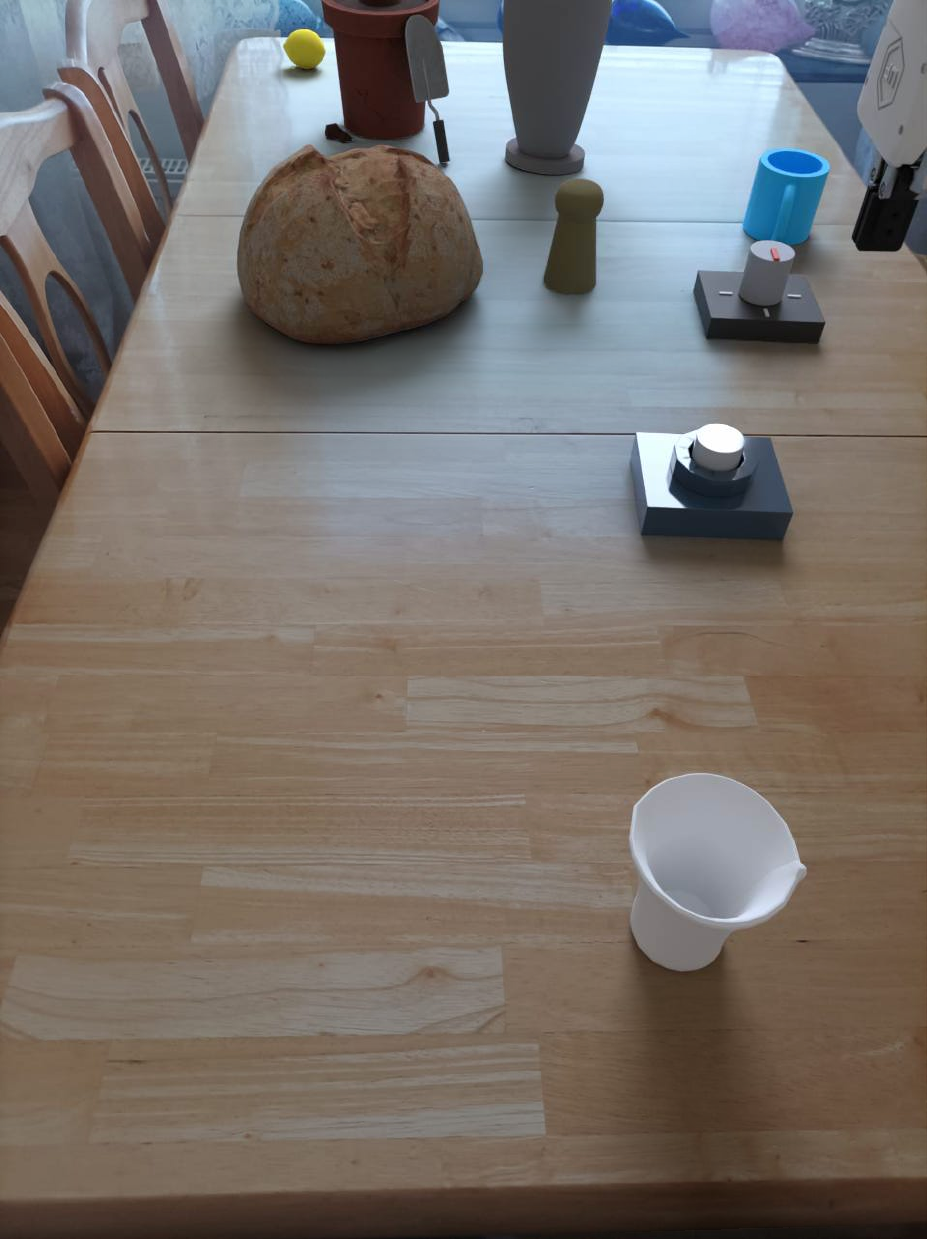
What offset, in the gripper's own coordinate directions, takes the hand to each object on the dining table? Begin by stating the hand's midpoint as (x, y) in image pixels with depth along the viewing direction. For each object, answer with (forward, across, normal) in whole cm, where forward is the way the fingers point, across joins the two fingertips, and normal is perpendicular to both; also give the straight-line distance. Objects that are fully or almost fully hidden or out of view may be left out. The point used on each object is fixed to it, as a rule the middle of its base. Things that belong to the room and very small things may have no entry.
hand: (874, 245), depth 68 cm
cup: (+21, +42, -16) cm, 50 cm away
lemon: (+21, -98, -58) cm, 115 cm away
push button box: (+22, +4, -9) cm, 24 cm away
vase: (+22, -66, -21) cm, 72 cm away
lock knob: (+20, -27, +1) cm, 34 cm away
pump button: (+17, +3, -9) cm, 19 cm away
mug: (+22, -46, +7) cm, 52 cm away
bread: (+21, -28, -42) cm, 55 cm away
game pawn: (+22, -34, -19) cm, 44 cm away
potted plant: (+22, -74, -43) cm, 88 cm away
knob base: (+22, -27, +1) cm, 35 cm away
